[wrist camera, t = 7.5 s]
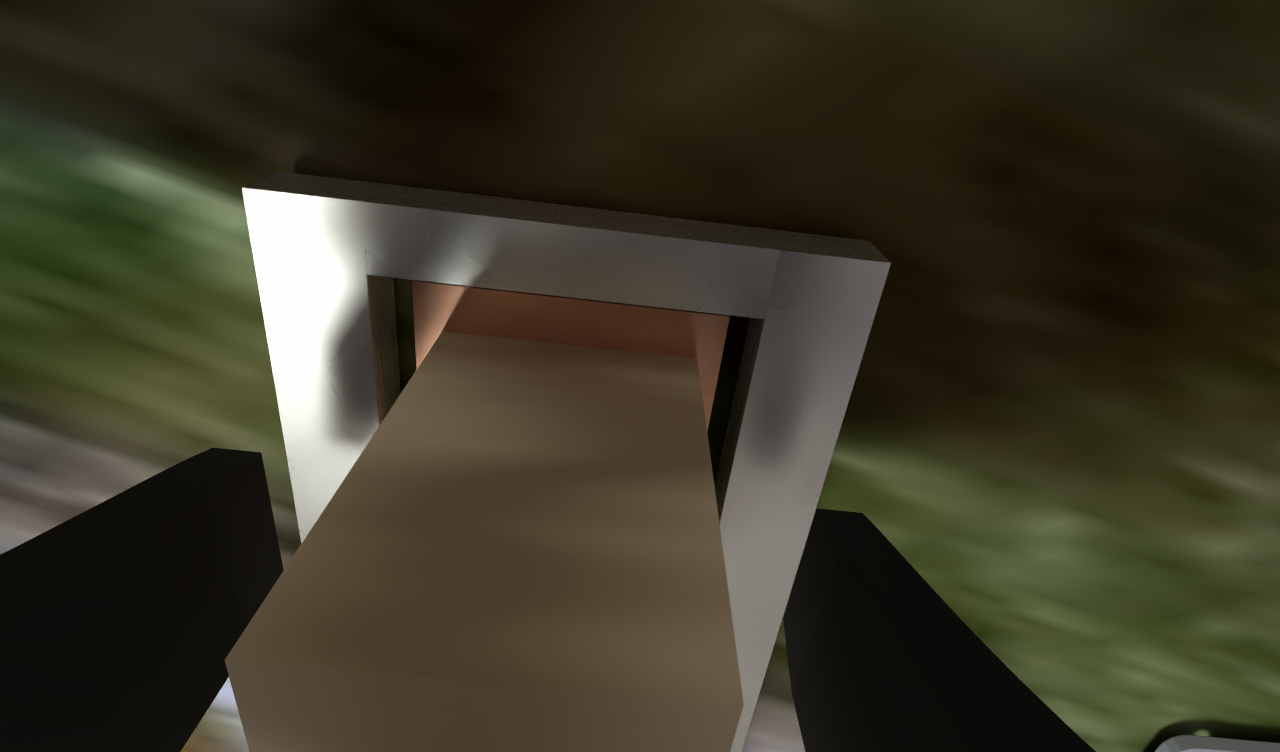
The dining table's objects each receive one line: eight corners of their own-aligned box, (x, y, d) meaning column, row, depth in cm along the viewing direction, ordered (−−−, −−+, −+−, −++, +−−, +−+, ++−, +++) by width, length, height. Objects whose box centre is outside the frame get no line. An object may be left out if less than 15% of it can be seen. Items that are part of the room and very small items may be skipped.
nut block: (697, 358, 11) (744, 704, 5) (664, 549, 12) (674, 944, 7) (441, 331, 10) (225, 659, 5) (448, 528, 12) (295, 917, 7)
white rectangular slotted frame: (869, 240, 10) (891, 263, 9) (675, 921, 20) (676, 963, 19) (279, 171, 9) (242, 187, 9) (381, 899, 19) (368, 942, 18)
